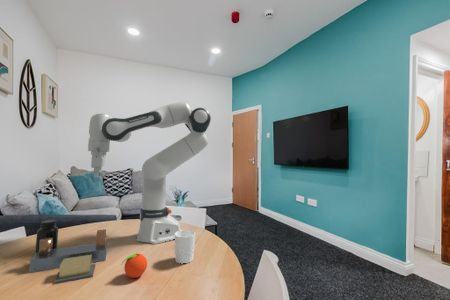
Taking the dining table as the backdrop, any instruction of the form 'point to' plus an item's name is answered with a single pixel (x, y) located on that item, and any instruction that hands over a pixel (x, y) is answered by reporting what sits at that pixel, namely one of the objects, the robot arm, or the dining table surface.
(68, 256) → the body
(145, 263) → the clementine
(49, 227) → the supplement bottle
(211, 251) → the dining table surface
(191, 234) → the white cup
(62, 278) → the mat
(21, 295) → the dining table surface
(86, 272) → the lever cap
